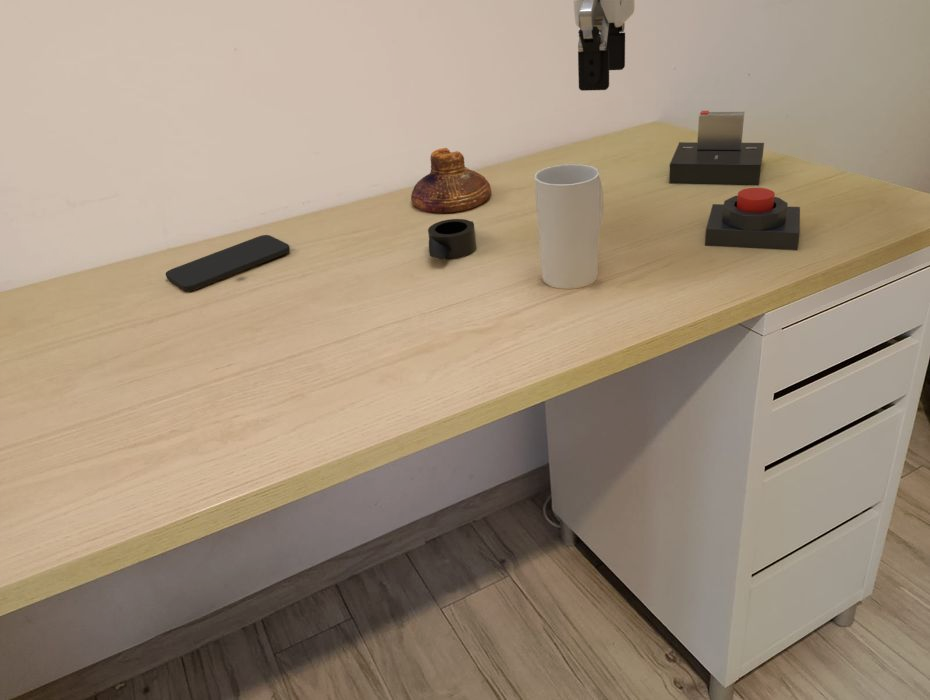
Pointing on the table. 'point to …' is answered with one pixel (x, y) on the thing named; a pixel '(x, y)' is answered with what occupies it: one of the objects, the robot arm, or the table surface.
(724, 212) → the button box
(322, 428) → the table surface
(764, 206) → the button
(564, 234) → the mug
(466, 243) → the duct tape
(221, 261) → the phone
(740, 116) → the tap handle
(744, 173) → the plate
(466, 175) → the bell
